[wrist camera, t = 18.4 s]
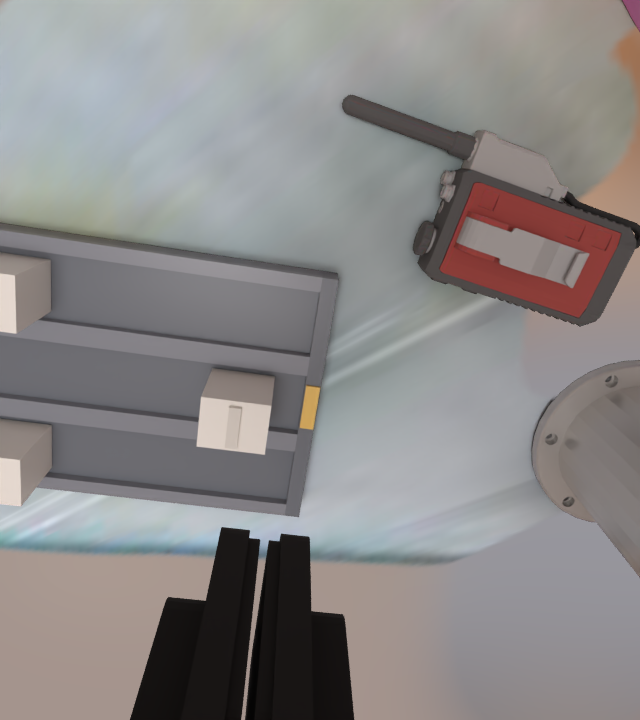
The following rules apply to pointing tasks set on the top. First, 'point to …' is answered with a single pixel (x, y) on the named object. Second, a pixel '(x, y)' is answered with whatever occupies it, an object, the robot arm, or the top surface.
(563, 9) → the top surface
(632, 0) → the gum box
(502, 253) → the walkie-talkie
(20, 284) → the tab
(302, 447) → the switch board
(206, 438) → the tab
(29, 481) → the tab
